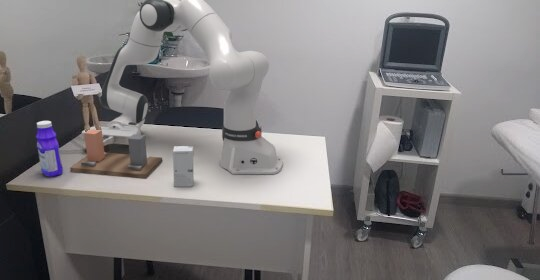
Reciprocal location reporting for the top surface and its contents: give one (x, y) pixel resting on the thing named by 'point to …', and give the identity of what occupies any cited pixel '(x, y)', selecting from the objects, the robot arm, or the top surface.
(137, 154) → the grey tall block
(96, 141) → the plug terracotta
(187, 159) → the skincare box
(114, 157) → the wooden board
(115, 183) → the top surface
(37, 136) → the bottle
